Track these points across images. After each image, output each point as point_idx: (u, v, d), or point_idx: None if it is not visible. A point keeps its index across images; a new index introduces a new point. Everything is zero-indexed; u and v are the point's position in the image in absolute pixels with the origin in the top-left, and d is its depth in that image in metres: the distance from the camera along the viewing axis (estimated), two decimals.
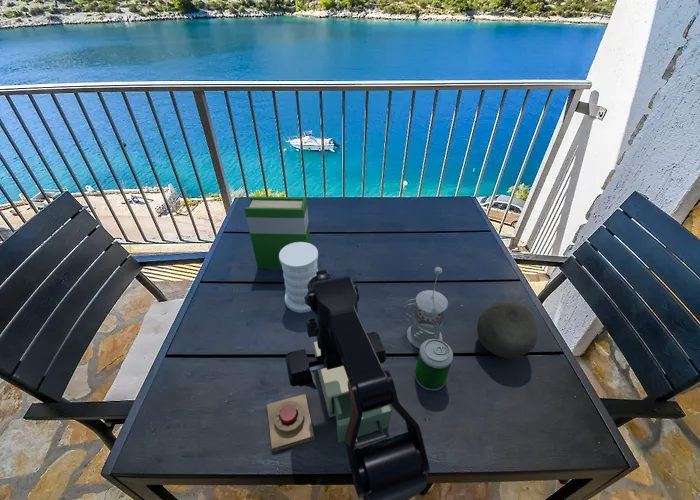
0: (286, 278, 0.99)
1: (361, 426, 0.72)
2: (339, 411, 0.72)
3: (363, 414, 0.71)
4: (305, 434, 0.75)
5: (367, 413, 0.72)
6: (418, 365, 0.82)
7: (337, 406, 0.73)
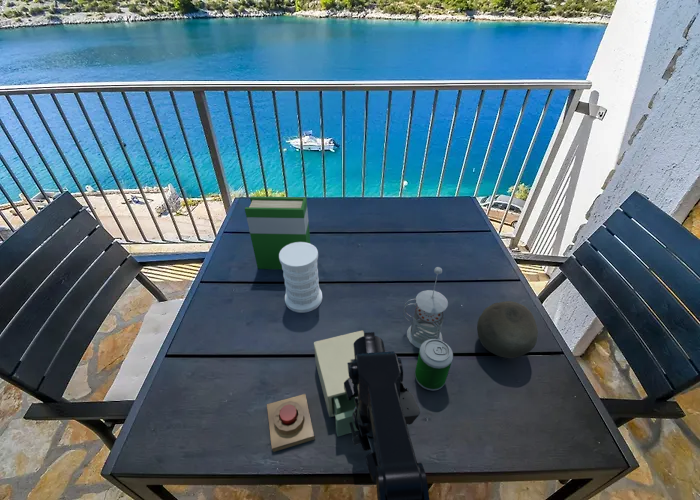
0: (286, 278, 0.99)
1: None
2: (337, 405, 0.73)
3: None
4: (305, 434, 0.75)
5: None
6: (418, 365, 0.82)
7: (336, 401, 0.74)
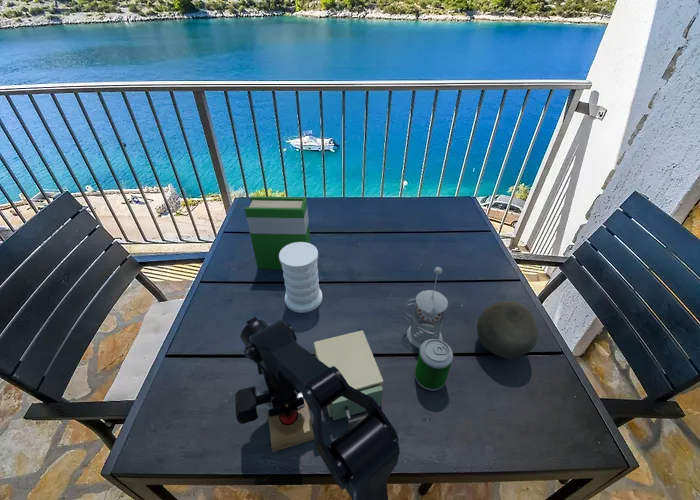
0: (286, 278, 0.99)
1: (354, 404, 0.76)
2: None
3: None
4: (305, 434, 0.75)
5: None
6: (418, 365, 0.82)
7: None
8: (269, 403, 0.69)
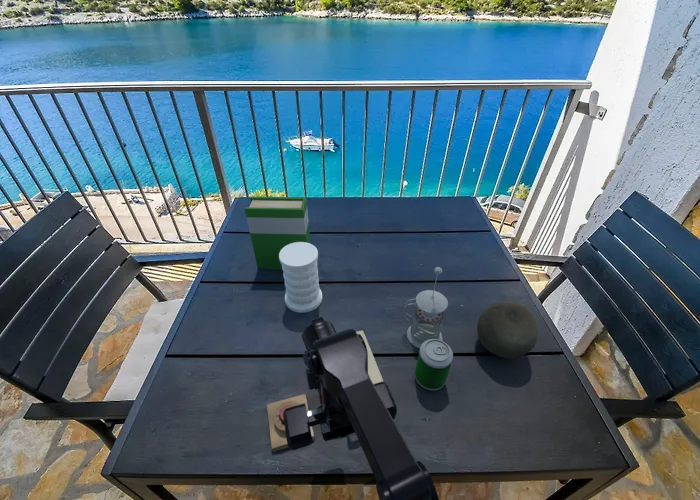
0: (286, 278, 0.99)
1: None
2: None
3: None
4: None
5: None
6: (418, 365, 0.82)
7: None
8: (324, 425, 0.57)
